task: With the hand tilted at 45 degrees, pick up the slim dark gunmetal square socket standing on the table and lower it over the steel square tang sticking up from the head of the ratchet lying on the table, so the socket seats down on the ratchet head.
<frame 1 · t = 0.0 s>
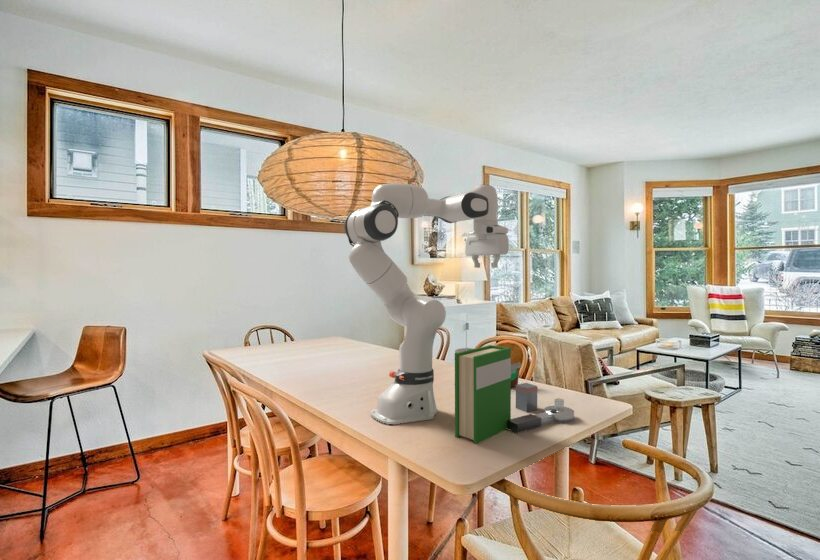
hand: (485, 267, 161), 48 cm above the table, tool pointing down, fingers open, 8 cm apart
socket: (526, 408, 149), on the table
pillar candle: (466, 383, 182), on the table
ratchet: (559, 418, 140), on the table
food container: (504, 387, 176), on the table
hardback book: (483, 432, 128), on the table
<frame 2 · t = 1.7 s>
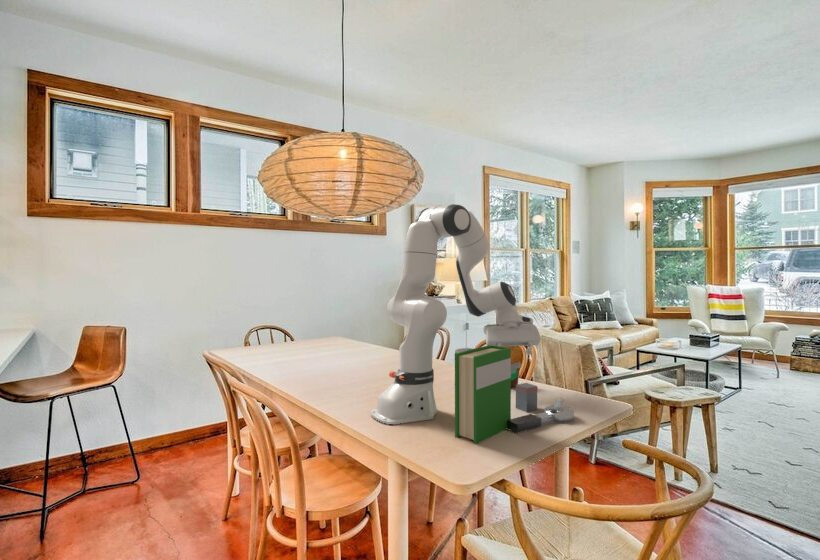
hand: (516, 354, 161), 16 cm above the table, tool tilted 45°, fingers open, 8 cm apart
nothing on the table moved.
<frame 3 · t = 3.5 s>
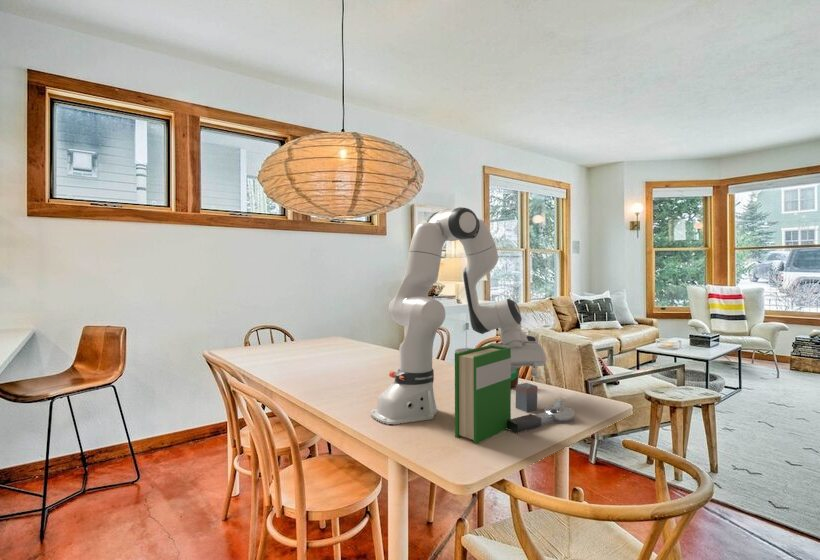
hand: (521, 375, 154), 10 cm above the table, tool tilted 45°, fingers open, 8 cm apart
nothing on the table moved.
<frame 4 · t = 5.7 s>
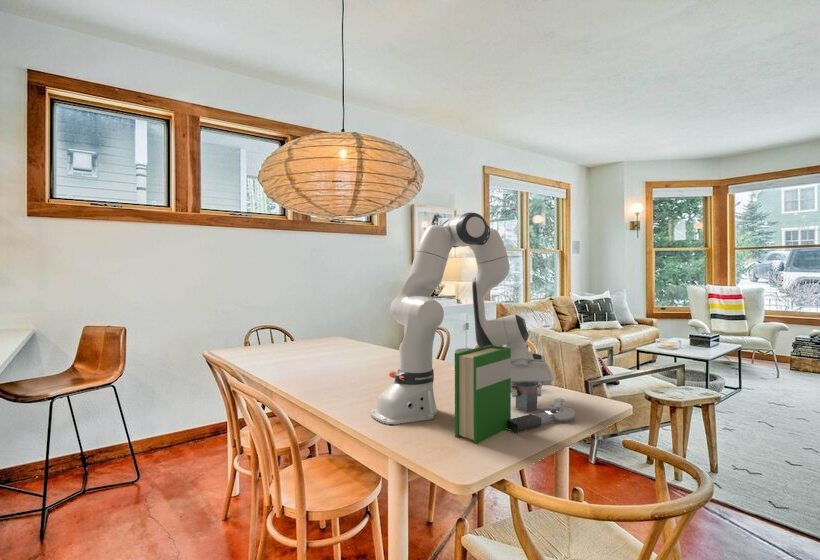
hand: (527, 395, 148), 5 cm above the table, tool tilted 45°, fingers closed on socket, 7 cm apart
socket: (526, 408, 149), on the table, touching gripper
everything else where it was.
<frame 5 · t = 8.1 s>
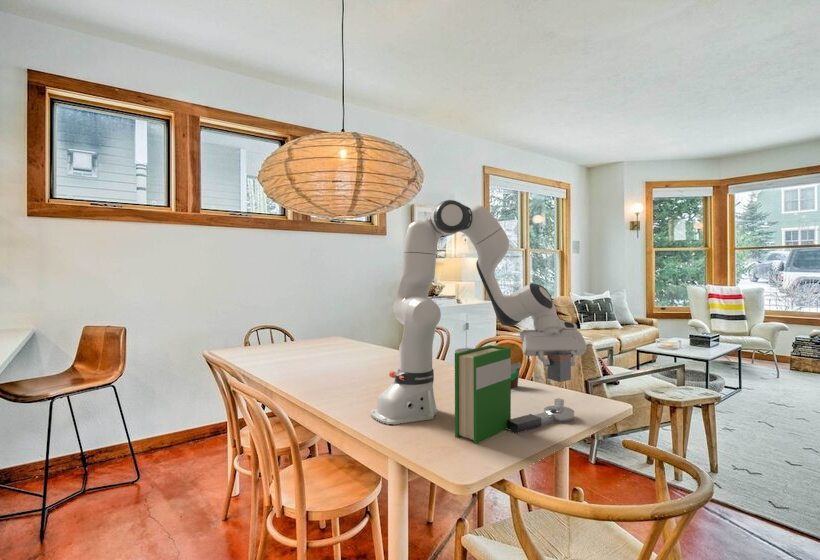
hand: (559, 365, 138), 17 cm above the table, tool tilted 45°, fingers closed on socket, 7 cm apart
socket: (559, 379, 139), point 12 cm above the table, touching gripper
everything else where it was.
when the fingers open (8 cm above the table, at t = 10.6 s): socket stays where it is, resting on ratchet.
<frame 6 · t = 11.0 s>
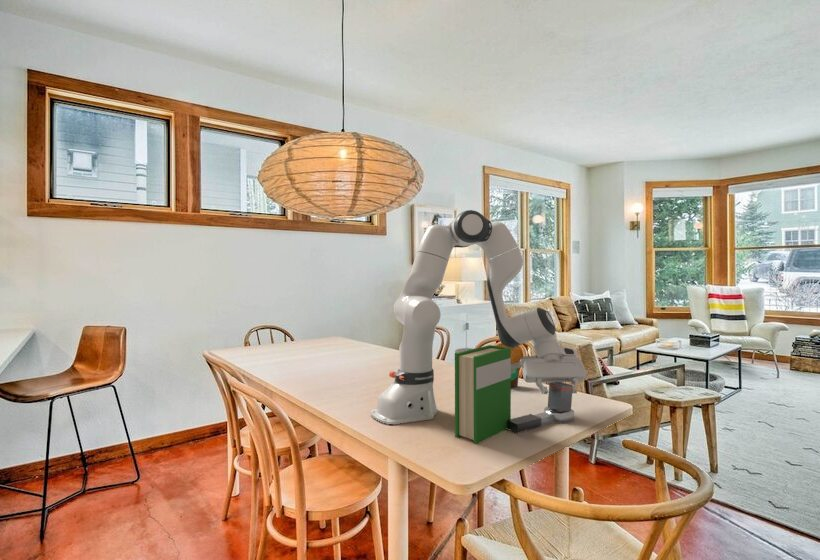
hand: (559, 392, 139), 8 cm above the table, tool tilted 45°, fingers open, 8 cm apart
socket: (559, 409, 139), point 3 cm above the table, tilted 7°, touching gripper, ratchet
everything else where it was.
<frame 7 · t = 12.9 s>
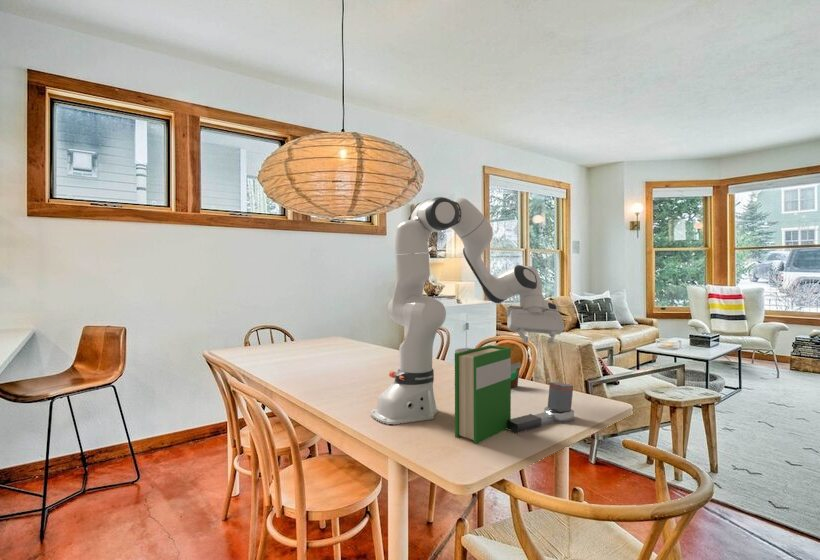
hand: (538, 343, 152), 22 cm above the table, tool tilted 35°, fingers open, 8 cm apart
socket: (559, 409, 139), point 3 cm above the table, tilted 8°, touching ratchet
everything else where it was.
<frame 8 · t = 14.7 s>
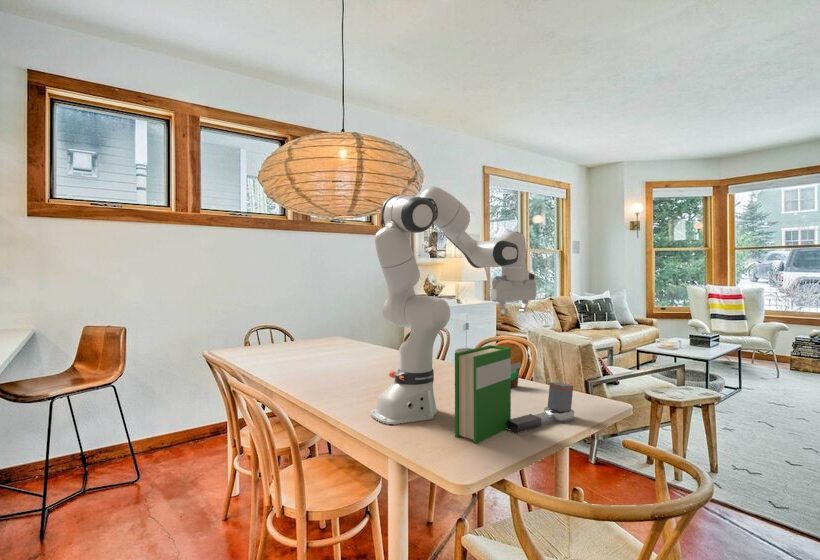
hand: (513, 313, 163), 31 cm above the table, tool pointing down, fingers open, 8 cm apart
nothing on the table moved.
at the end: socket 0.0 cm off-centre on the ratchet, point 2.8 cm above the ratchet's base; socket tilted 8°; the gripper is holding nothing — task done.
